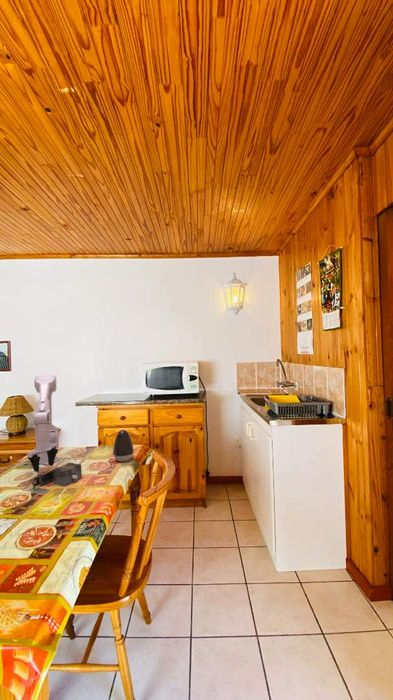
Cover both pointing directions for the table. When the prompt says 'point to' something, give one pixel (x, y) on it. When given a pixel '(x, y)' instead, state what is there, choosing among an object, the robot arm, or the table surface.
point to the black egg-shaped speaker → (123, 446)
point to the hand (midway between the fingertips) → (43, 468)
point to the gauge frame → (60, 477)
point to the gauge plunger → (49, 478)
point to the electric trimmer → (35, 481)
